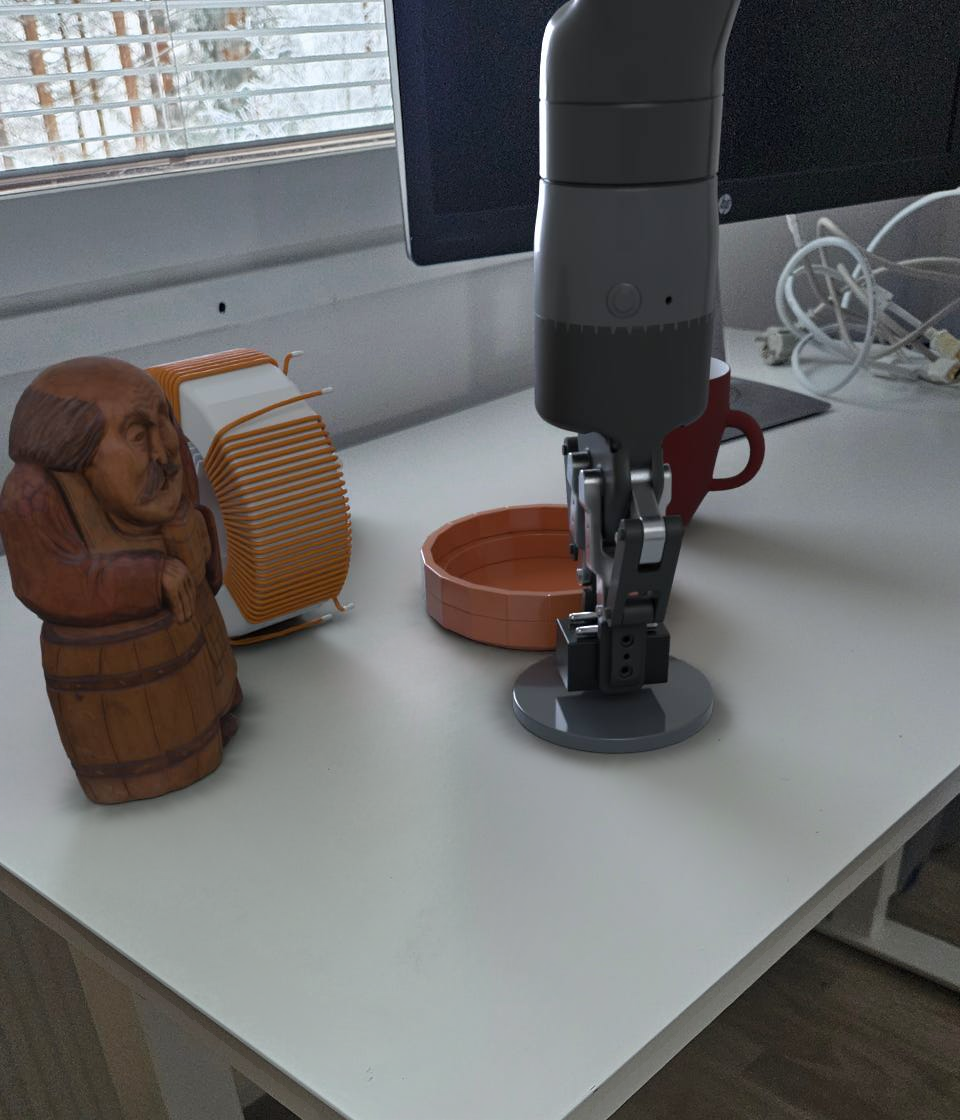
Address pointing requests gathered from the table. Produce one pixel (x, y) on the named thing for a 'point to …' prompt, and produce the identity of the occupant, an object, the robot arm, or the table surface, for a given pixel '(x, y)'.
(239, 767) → the table surface
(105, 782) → the wooden figurine
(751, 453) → the mug
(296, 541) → the coil
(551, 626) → the bowl
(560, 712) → the plate
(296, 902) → the table surface
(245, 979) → the table surface
